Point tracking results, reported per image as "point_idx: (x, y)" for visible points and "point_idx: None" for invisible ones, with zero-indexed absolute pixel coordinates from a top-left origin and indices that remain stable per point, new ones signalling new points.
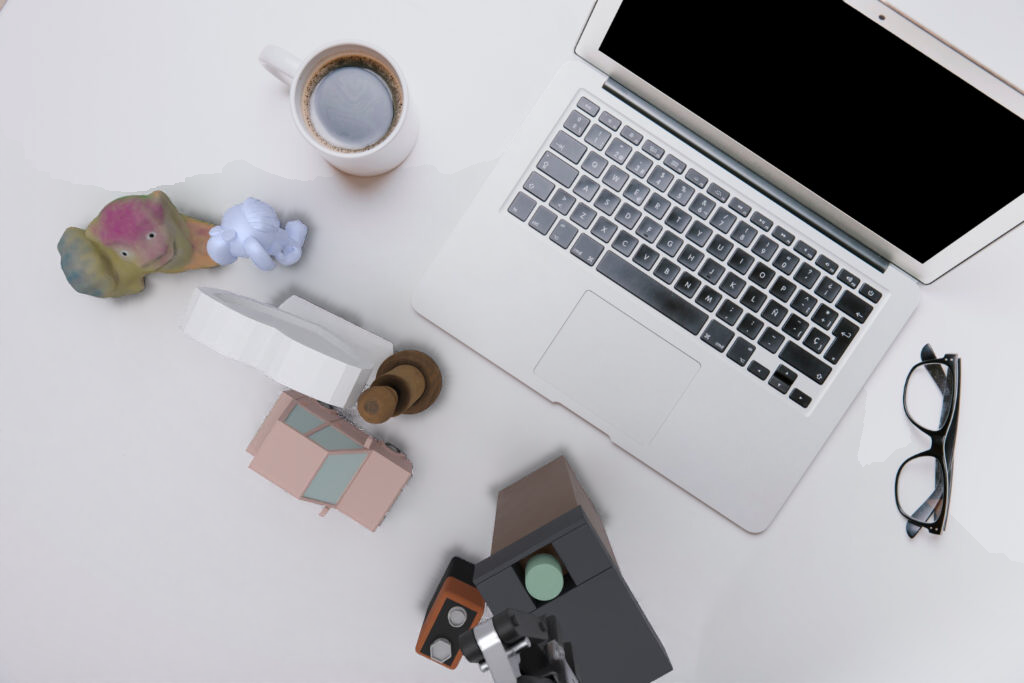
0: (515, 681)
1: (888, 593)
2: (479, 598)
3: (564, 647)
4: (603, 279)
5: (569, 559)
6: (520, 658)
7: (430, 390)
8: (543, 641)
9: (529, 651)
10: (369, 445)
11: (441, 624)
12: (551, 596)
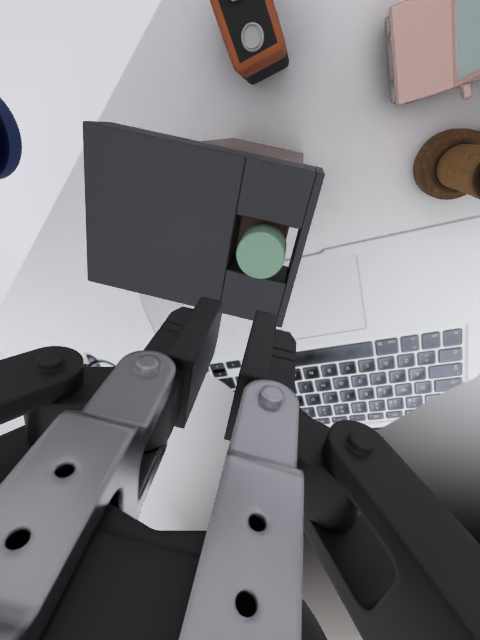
0: None
1: (60, 323)
2: (247, 72)
3: (213, 349)
4: (361, 340)
5: (256, 285)
6: (314, 479)
7: (431, 181)
8: (303, 519)
9: (312, 502)
10: (463, 90)
11: (257, 8)
12: (240, 251)
